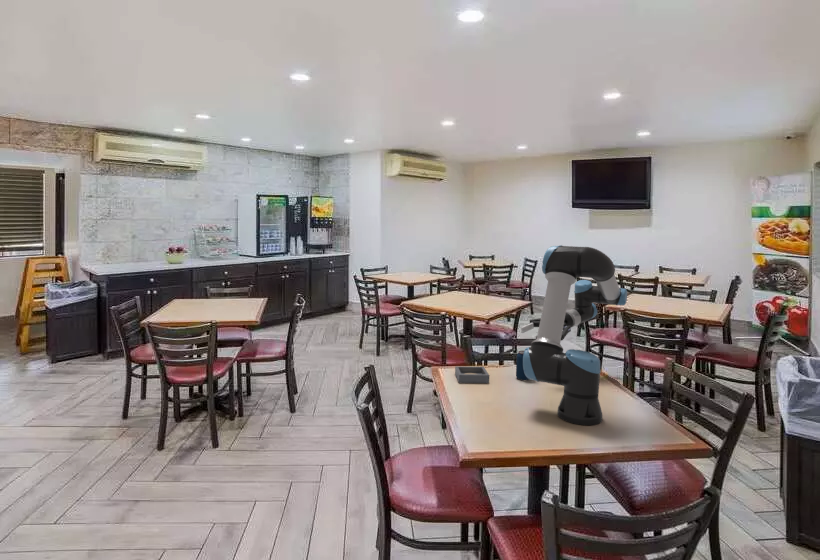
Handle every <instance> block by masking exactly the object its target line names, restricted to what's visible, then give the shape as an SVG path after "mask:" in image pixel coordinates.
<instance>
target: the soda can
mask: <svg viewBox="0 0 820 560" xmlns="http://www.w3.org/2000/svg"><path fill="white" fill-rule="evenodd" d="M524 351H525V350H519V351H518V352H517V354H516V362H515V363H516V365H515V376H516V378H517V380H519V379H521V380H520V381H524V380H527V381H531V379H528V378H527V377H526V375H525V373H524V369H523V354H524Z"/></svg>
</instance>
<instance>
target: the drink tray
mask: <svg viewBox="0 0 820 560" xmlns="http://www.w3.org/2000/svg"><path fill="white" fill-rule="evenodd" d="M486 369H487V368H485V366H464V365H463V366H462V365H460V366H459V365H456V366H454V375H455V378H456V380H457V382H458V384H490V374H489V373H488V371H487V370H486Z"/></svg>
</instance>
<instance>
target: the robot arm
mask: <svg viewBox="0 0 820 560" xmlns="http://www.w3.org/2000/svg"><path fill="white" fill-rule="evenodd" d="M541 262H542V263H541V264H542V265H541V271H542V273H543V274H544V278H545V279H546V280H547V285H546V290H545V296H544V300H543V304H542V310H541V315H540V318H539V317H538V318H533V319H532V318H531V319H529V323H527V324H525V325H523V326H521V327H520V331H521V332H520V333H522V334H524V333H525V332H528V331H531V330H533V329H534V328H538V331H537V336H536V339H534V340H533V341H531V343H530V344H531V346H528V347H526V348H524V350H523V351H524V354H523V369H524V373H525V375H526V377H527V378H528V379H530V381H536V382H538V383H539V382H541V383H547V384H552V385H558V386H561V387H563V393H562V397H561V400H560V402H559V405H558V407H557V414H556V415H557V417H559V419H561V420H563V421H565V422H567V423H570V424H575V425H581V426H595V425H599V424H601V423H602V422H603V411H602V408H601V403H600V400H599V392H600V390H599V389H600V377H601V376H600V375H601V371H602V370H601V360H600V358H599V357H598V356H597V355H595V354H594V353H592V352H589V351H585V350H580V349H574V348H571V349H567V350H566V351H565V352H564V347H563V346H562V345H561V342H562V341H564V339H565V338H566V337H567V335H568V334H569V333H570V332H572V328H573V327H576V326H578V325H581V324H582V323H586V322H587V321H590V320H592V319H594V318H596V316H597V315H598V309H597V306H596V304H602V305H610V306H611V305H612V306H625V305H626V304H627V301H628V290H627V289H626V288H622V287H620V286H619V283H618V281H617V278H616V275H615V273H616V268H615V264H614V262H613V260H612V259H611V258H610V257H609V256H608V255H607V254H606V253H604V252H603V251H601V250H599V249H597V248H594V247H589V246H572V245H571V246H568V245H567V246H566V245H563V244H561V245H552V246H550V247H548V248H547V249H546V251H545V253H544V255H543V258H542V261H541ZM577 278H591V279H592V280H594V281H595V282H596V286H594V285H593V283H592V281H591V280H588V279H580V280H578V281H577ZM573 284H574V292H573V293H574V308H572V309H568V310H567V307H568V303H569V298H570V293H571V288H572V287H571V286H572V285H573Z"/></svg>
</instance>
